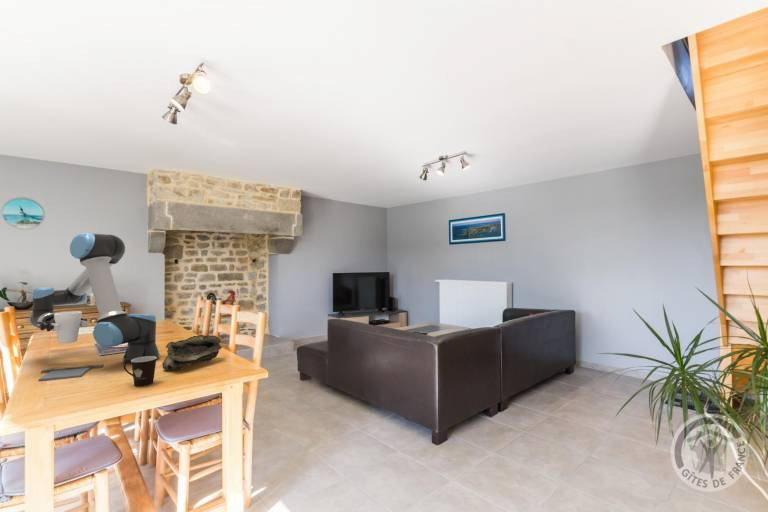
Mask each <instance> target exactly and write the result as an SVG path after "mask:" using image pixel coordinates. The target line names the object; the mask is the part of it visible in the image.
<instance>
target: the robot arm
mask: <svg viewBox="0 0 768 512" xmlns="http://www.w3.org/2000/svg"><path fill="white" fill-rule="evenodd" d="M69 252H70V254H71V256H72V257H73V258H75V259H78V260H79V263H80V265H81V266H83V267H85V268H84V270H83V271H82V272H80V274H79V275H78V276H77V277H76V278H75V279H74V280H73V281H72V283H71V284H70V285H69V286H68V287H67V288H66V289H60V290H59V289H58V290H55V289H54V287H51V286H46V287H45V286H44V287H36V288H34V289H33V291H32V296H31V297H32V314H31V315H30V317H29V318H28V319H29V323H30V325H32V326H33V327H35V328H37V329H38V328H39V330H40V331H45V330H46V332H51V331H55V332H57V331H59V324H55V319H54V314H55V312H54V307H55V306H56V307H57V306H63V305H64V306H65V305H73V304H74V305H75V304H79V303H80V304H81V303H82V302H84V301H85V300H86V297H87V291H89V290H90V289H91V290H92V293H93V296H94V301H95V306H96V308H97V311H98V315H99V316H98V318H97V319H96V324H95V325H94V327H93V330H92V336H93V339H94V341H95V342H96V343H97V344H98V345H99V346H101V347H104V348H111V347H118V346H120V345H125V344H127V346H126V349H125V352H124V355H123V357H122V363H123V364H125V363H127V362H131V360H132V359H135V358H139V357H146V356H154V357H157V359H156V361H157V360H159V359H160V357H161V356H160V355H161V354H160V350H159V349H158V346H157V344H156V340H157V339H156V338H157V336H156V335H157V334H156V333H157V321H156V315H155V314H152V313H129V314H128V312H126V311H123V309H122V308H123V307H122V305H121V302H120V298H119V295H118V291H117V287H116V284H115V281H114V278H113V274H112V270H111V267H112V266H113V265H116V264H117V263H119V261H120V260H121V259H122V258H123V257H124V254H125V252H126V246H125V242H124V241H123V240H122V239H121V238H120V237H118V236H117V235H114V234H103V233H93V232H87V233H85V232H84V233H79V234H77V235H75V236H74V237H72V240H71V242H70V245H69ZM80 327H82V328H88V319H87V318H84V317H81V321H80ZM127 365H130V364H129V363H128V364H127Z"/></svg>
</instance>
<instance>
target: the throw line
mask: <svg viewBox="0 0 768 512" xmlns="http://www.w3.org/2000/svg"><path fill="white" fill-rule="evenodd" d="M90 367H91V369H98V368H103V367H104V363H102V364H93V365H92V364H89V365H82V366H78V365H77V366H70V367H60V368H59V367H58V368H47V369H42V370H40V374H48V373H49V372H51V371H58V370H68V369H79V368H90Z"/></svg>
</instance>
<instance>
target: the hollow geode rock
mask: <svg viewBox="0 0 768 512" xmlns="http://www.w3.org/2000/svg"><path fill="white" fill-rule="evenodd" d="M221 342H222V340H221V339H220V338H219V337H218V336H216V335H212V334H211V335H210V334H209V335H203V334H199V335H193V336H191V337H188V338H187V339H186V338H185V339H182V340H177V341H175V342H174V341H170V342H168V343H167V345H165V348H166V349H167V350H166V352H167V356H166V358H165V359H164V360H163V361H162V364H161V366H162V369H163V370H164V371H167V372H168V371H171V372H172V371H180V370H182V369H183V368H185V367H187V366H188V365H189V366H190V365H191V366H192V365H199V364H200V363H204V362H209V361H212V360H213V359H215V358H217V356H218V354H219V351H220V350H222V348H223V346H221V344H220V343H221Z"/></svg>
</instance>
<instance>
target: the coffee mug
mask: <svg viewBox="0 0 768 512" xmlns="http://www.w3.org/2000/svg"><path fill="white" fill-rule="evenodd" d="M156 359H157V357H154V356H146V357H139V358H135V359H132V360H131V362H127V363H123V369H124V371H125V372H126V373H127V374H129V376H132V377H133V385H134V387H138V388H139V387H147V386H150V385H152V384H153V383H154V380H155V379H154V378H155V371H156V365H157V360H156ZM128 363H129V364H128ZM127 365H131V370H132V373H131V371H129V370H127V368H126V366H127Z"/></svg>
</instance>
